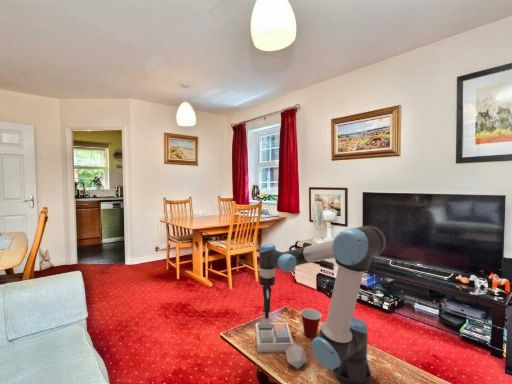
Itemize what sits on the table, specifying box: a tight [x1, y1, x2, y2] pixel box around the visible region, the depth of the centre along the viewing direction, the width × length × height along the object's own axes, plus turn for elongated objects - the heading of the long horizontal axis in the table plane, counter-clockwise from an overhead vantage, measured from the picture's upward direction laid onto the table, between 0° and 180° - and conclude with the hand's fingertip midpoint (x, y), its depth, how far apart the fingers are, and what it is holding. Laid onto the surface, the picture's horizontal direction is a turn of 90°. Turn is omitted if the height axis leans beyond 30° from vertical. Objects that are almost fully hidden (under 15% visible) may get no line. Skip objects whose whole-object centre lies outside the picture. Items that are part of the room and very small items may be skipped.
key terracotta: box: [273, 324, 286, 334], centre depth 147 cm, size 7×6×3 cm
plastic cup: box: [300, 308, 323, 339], centre depth 147 cm, size 11×11×12 cm
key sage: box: [260, 330, 274, 343], centre depth 138 cm, size 7×6×3 cm
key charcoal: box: [258, 320, 272, 330], centre depth 147 cm, size 7×6×3 cm
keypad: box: [255, 322, 295, 354], centre depth 143 cm, size 20×17×4 cm
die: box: [284, 342, 308, 370], centre depth 124 cm, size 8×9×10 cm
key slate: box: [275, 330, 289, 343], centre depth 138 cm, size 7×6×3 cm
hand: (266, 323), depth 138 cm, fingers closed
